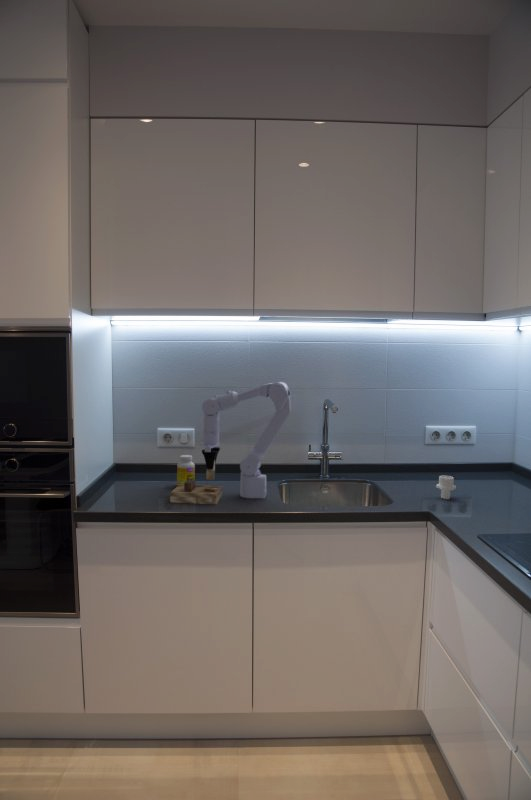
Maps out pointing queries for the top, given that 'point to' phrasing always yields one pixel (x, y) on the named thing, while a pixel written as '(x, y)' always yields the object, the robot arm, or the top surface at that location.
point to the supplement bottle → (185, 469)
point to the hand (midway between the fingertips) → (210, 468)
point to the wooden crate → (196, 496)
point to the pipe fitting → (446, 486)
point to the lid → (196, 488)
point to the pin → (210, 473)
